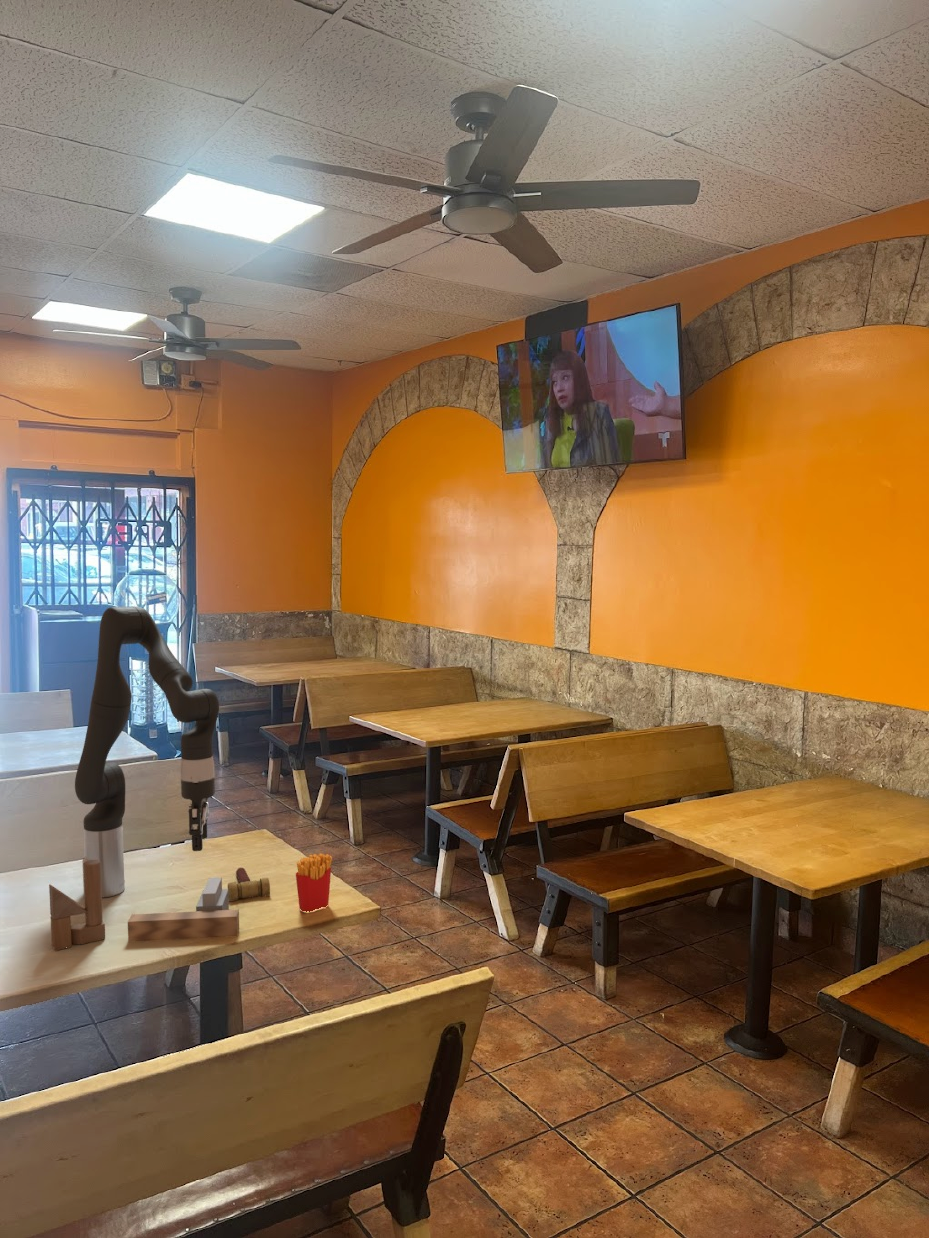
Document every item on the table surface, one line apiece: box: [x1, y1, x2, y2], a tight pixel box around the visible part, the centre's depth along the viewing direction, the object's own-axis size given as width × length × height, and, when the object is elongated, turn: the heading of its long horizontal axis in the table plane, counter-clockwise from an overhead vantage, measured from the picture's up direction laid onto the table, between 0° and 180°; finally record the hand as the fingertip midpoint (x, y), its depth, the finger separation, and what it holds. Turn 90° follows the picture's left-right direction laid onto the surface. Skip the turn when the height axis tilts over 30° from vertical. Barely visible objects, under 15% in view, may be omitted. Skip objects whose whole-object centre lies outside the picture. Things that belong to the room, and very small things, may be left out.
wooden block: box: [48, 860, 106, 951], centre depth 205 cm, size 4×11×18 cm, turn 125°
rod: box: [127, 908, 240, 943], centre depth 209 cm, size 24×4×5 cm, turn 97°
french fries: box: [295, 852, 333, 912], centre depth 224 cm, size 9×4×13 cm, turn 128°
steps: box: [195, 876, 230, 911], centre depth 219 cm, size 6×10×8 cm, turn 7°
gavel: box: [227, 867, 271, 902], centre depth 239 cm, size 21×5×10 cm
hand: (200, 844), depth 212 cm, fingers open, 8 cm apart
